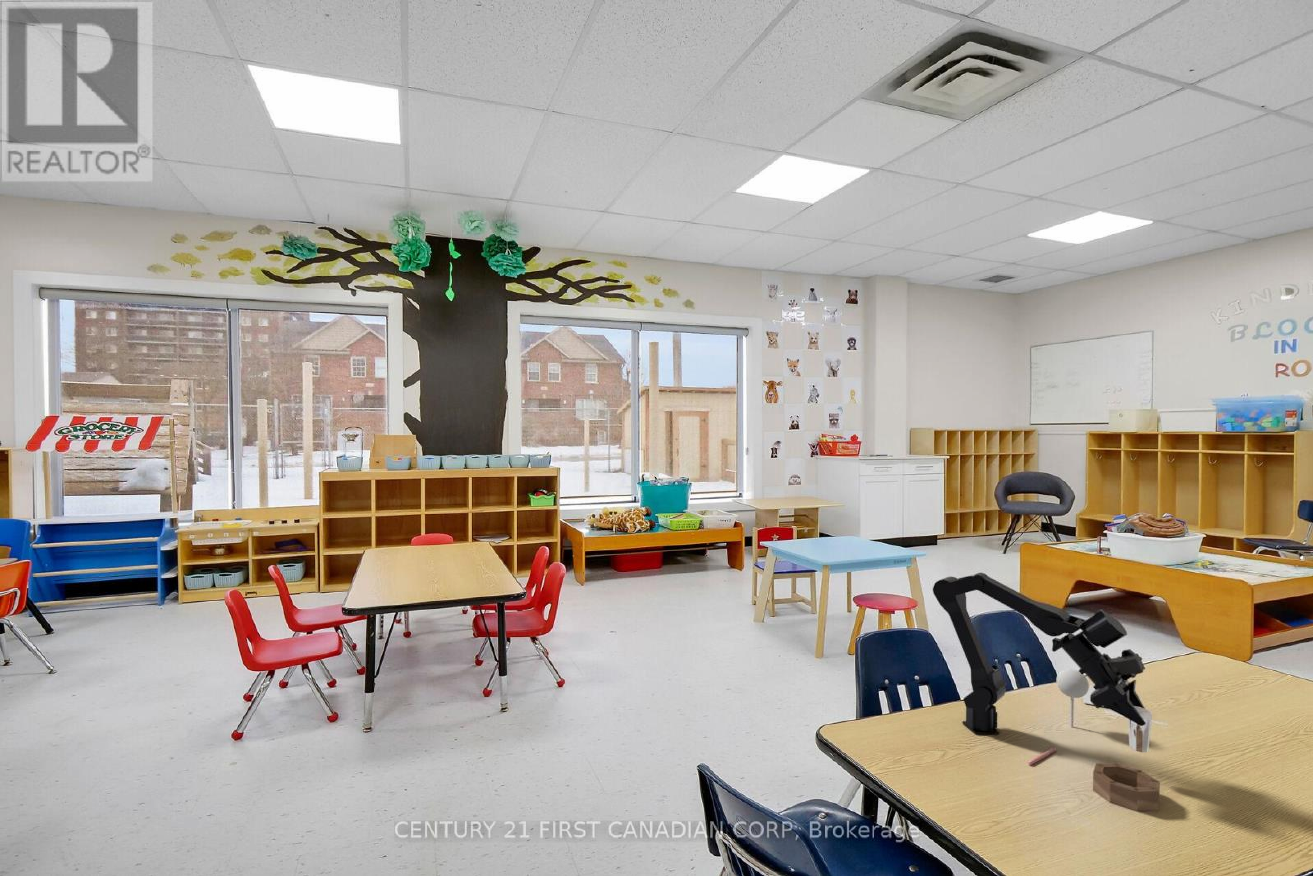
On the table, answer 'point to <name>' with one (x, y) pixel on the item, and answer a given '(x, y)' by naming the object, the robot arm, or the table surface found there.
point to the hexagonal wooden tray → (1126, 786)
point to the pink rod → (1042, 756)
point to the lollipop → (1072, 686)
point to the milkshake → (1140, 731)
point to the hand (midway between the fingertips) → (1145, 721)
